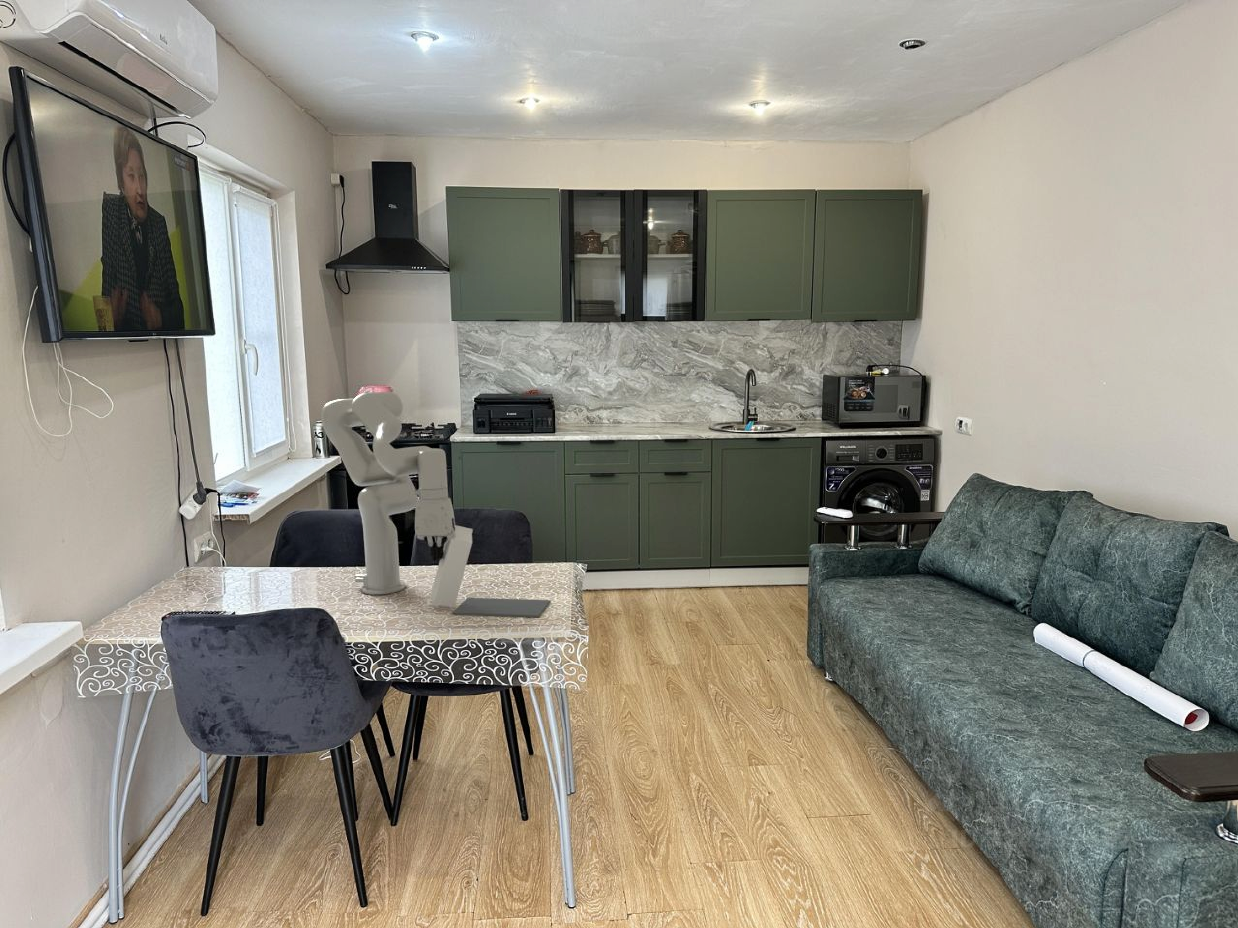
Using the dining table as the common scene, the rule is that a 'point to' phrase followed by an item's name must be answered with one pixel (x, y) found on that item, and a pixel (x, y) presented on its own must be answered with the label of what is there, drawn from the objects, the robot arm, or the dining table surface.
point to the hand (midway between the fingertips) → (437, 559)
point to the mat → (502, 607)
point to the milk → (452, 568)
